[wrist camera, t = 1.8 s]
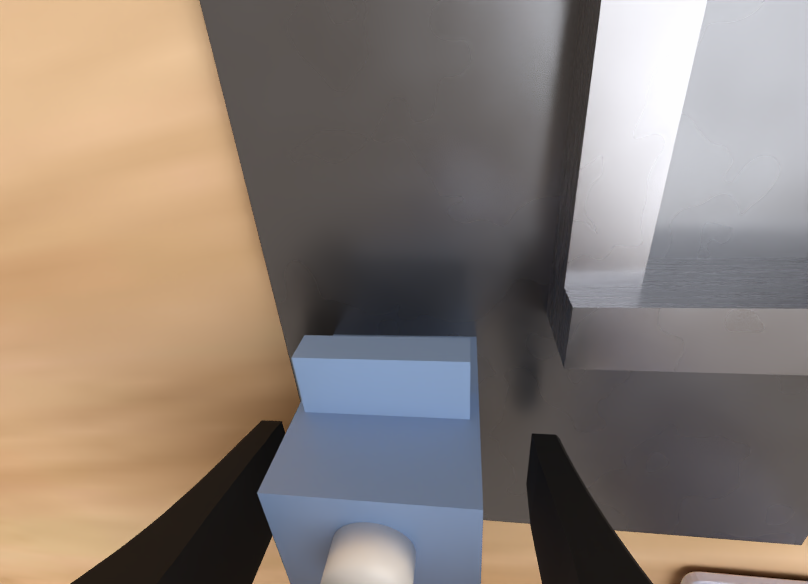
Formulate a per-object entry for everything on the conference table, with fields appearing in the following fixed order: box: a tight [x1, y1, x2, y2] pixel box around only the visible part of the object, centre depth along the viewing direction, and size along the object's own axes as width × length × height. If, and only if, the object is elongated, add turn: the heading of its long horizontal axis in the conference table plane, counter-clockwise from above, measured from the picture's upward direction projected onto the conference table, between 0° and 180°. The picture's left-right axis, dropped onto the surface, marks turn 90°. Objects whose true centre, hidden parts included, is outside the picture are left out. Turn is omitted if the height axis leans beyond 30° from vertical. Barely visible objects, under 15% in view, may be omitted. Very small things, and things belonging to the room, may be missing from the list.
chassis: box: [200, 0, 808, 545], centre depth 9 cm, size 20×16×3 cm
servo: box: [257, 334, 483, 584], centre depth 10 cm, size 9×4×6 cm, turn 4°
